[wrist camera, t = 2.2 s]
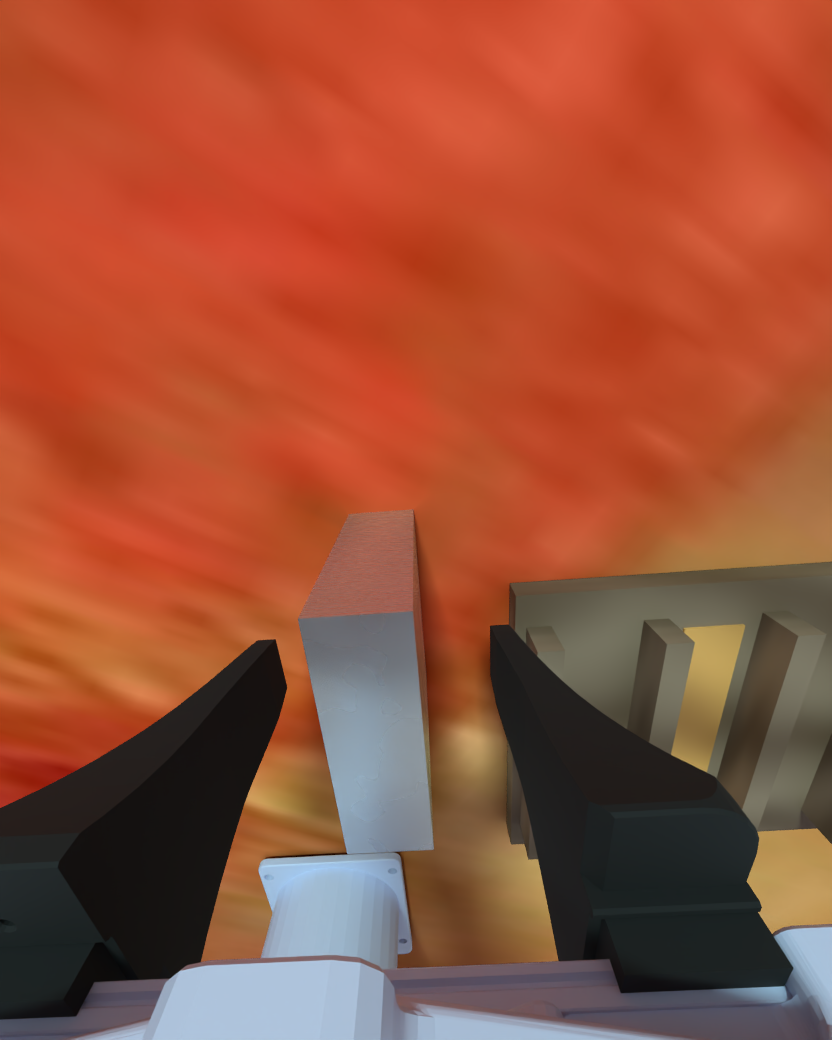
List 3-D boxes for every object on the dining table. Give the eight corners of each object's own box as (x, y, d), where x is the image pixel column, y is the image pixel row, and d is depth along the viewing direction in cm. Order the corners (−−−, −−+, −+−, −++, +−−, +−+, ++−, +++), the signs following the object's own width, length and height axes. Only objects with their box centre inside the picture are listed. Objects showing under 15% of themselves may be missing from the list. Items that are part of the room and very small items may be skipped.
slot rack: (803, 807, 21) (864, 875, 18) (506, 823, 21) (521, 892, 18) (903, 557, 16) (1012, 596, 13) (509, 583, 16) (530, 626, 13)
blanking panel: (426, 673, 18) (433, 849, 11) (372, 677, 18) (347, 854, 11) (413, 509, 15) (412, 611, 8) (349, 513, 15) (298, 618, 8)
